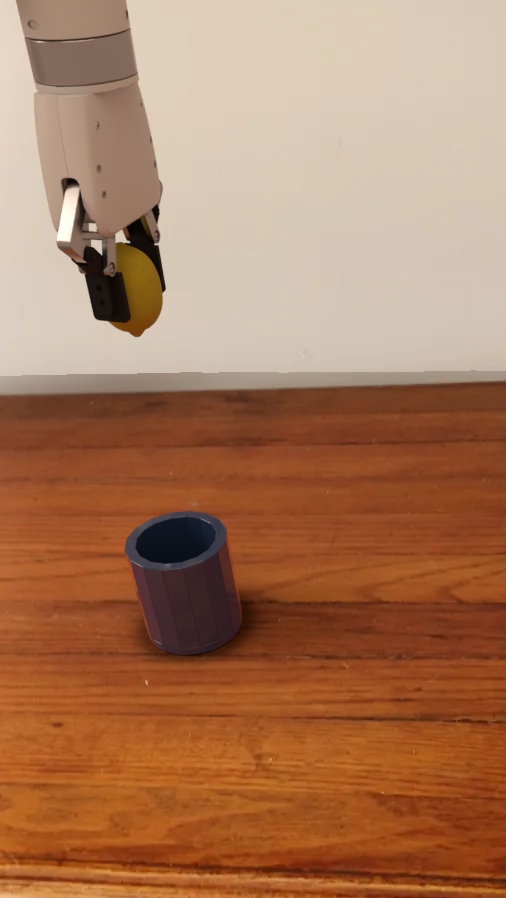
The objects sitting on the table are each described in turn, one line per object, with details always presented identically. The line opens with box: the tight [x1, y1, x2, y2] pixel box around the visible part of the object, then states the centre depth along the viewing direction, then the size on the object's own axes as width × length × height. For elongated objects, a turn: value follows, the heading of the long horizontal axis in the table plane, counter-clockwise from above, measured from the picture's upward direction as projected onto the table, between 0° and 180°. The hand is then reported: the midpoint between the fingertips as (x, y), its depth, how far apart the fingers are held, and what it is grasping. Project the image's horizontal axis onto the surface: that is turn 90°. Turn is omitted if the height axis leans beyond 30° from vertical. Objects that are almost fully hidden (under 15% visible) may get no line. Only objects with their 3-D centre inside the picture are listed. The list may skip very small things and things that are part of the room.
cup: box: [123, 510, 244, 656], centre depth 63 cm, size 6×6×7 cm
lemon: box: [107, 241, 164, 338], centre depth 81 cm, size 6×6×8 cm
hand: (131, 303), depth 81 cm, fingers closed on lemon, 5 cm apart
